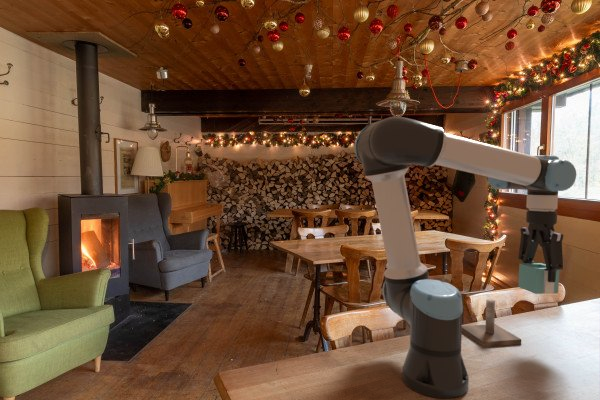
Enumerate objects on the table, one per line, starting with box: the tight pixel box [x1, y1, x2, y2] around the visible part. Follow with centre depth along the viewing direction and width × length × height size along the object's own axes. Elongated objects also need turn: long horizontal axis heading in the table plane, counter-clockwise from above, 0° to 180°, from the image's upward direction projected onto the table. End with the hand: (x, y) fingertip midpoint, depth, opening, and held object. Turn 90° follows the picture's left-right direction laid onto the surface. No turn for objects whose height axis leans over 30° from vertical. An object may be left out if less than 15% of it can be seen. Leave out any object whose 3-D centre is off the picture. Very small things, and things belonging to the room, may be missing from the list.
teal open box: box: [518, 262, 560, 295], centre depth 113 cm, size 7×7×7 cm
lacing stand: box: [462, 298, 522, 348], centre depth 119 cm, size 12×12×12 cm
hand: (538, 288), depth 113 cm, fingers closed on teal open box, 7 cm apart
